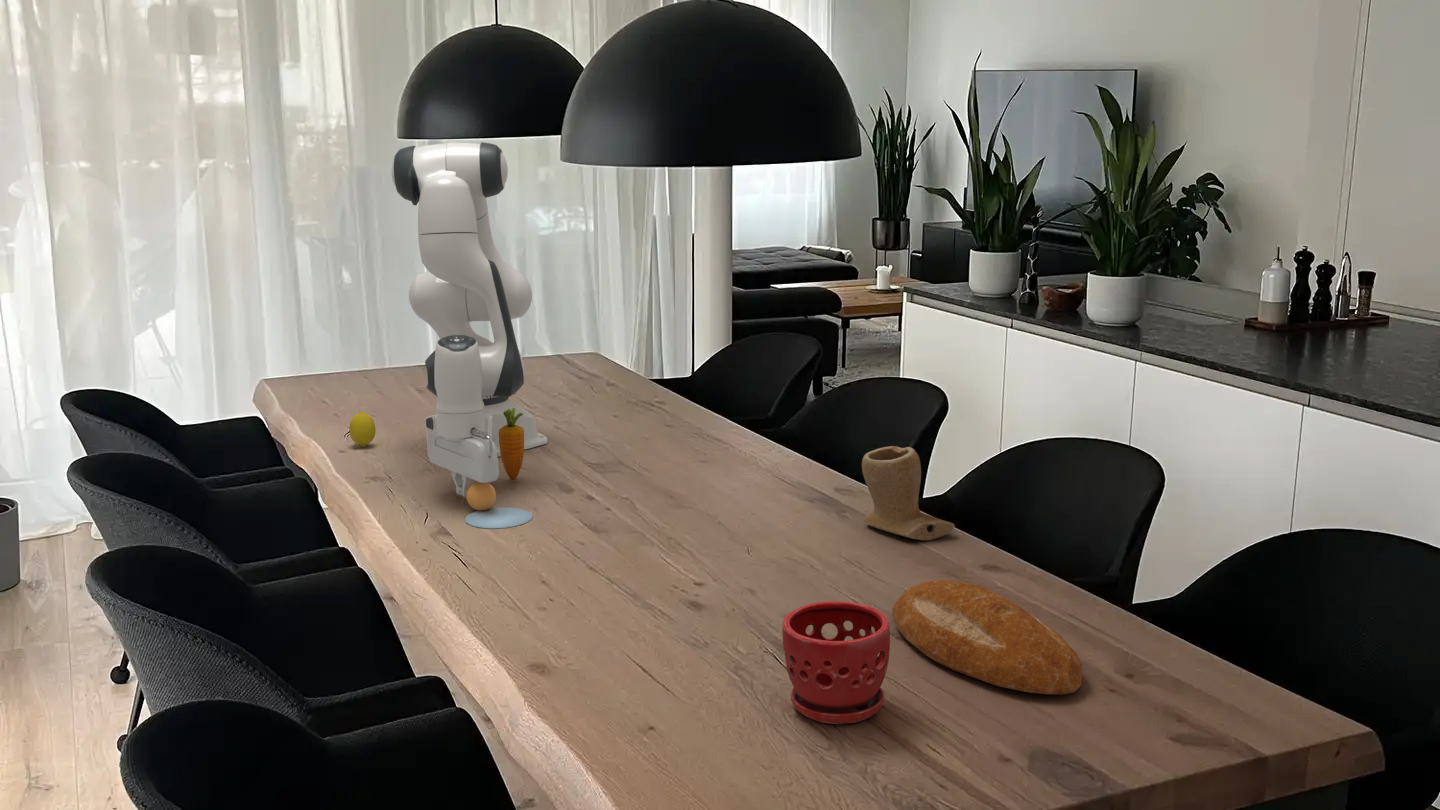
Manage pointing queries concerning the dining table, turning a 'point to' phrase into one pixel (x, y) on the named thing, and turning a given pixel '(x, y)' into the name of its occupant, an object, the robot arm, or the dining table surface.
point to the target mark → (498, 518)
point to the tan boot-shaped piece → (899, 494)
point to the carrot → (511, 444)
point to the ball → (481, 496)
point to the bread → (986, 637)
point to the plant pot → (836, 661)
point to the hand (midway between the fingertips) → (464, 495)
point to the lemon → (362, 429)
